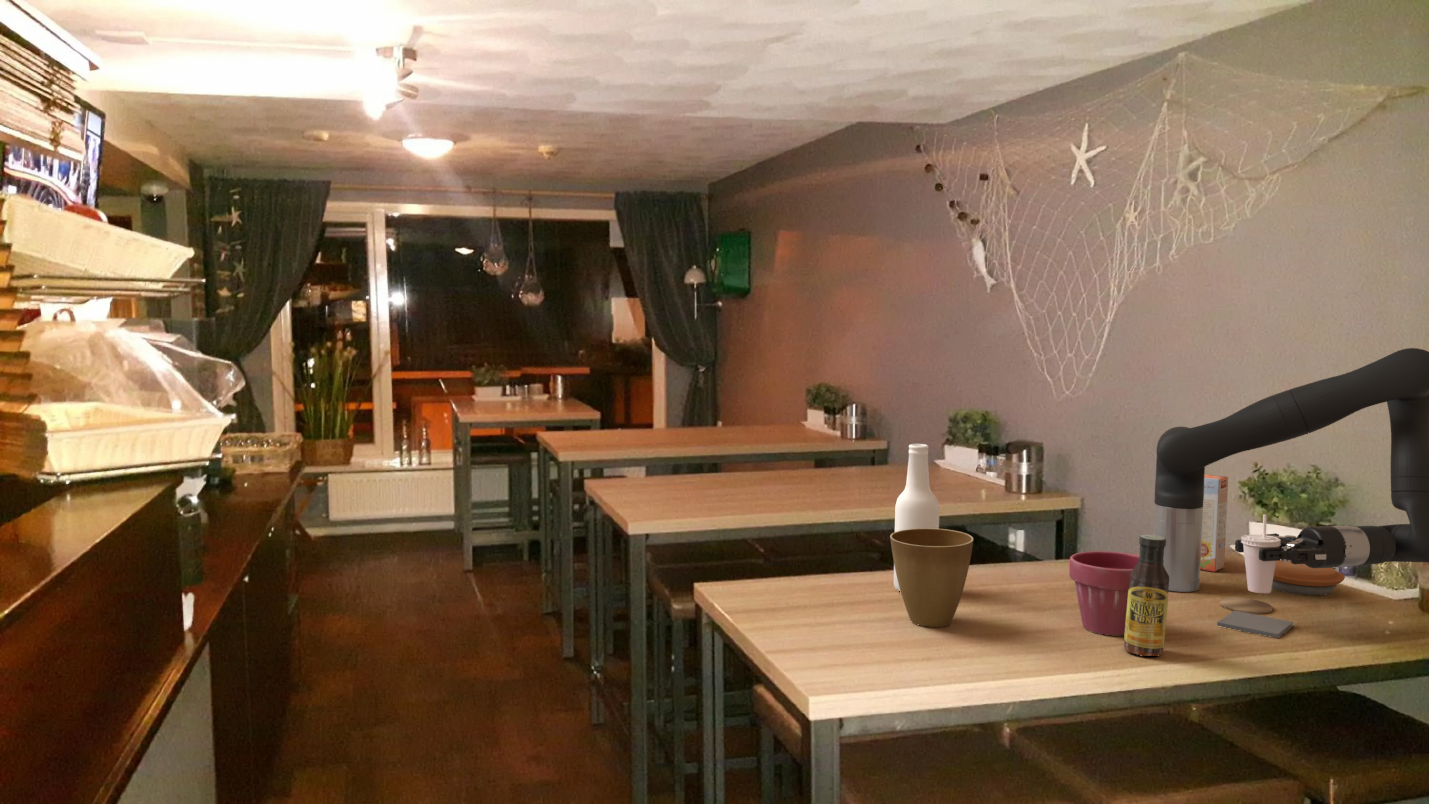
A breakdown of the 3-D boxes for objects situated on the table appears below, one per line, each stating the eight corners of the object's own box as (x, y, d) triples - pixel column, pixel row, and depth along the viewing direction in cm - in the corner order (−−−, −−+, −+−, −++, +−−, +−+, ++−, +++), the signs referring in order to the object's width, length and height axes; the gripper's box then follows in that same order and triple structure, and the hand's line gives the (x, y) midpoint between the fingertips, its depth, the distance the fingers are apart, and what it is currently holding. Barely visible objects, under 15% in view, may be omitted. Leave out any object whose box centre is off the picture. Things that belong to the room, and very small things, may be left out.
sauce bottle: (1123, 655, 170) (1128, 538, 169) (1123, 644, 176) (1128, 530, 174) (1166, 661, 168) (1171, 541, 166) (1165, 649, 174) (1170, 534, 172)
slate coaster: (1217, 626, 187) (1217, 622, 187) (1234, 614, 194) (1234, 610, 194) (1277, 638, 180) (1277, 634, 180) (1293, 625, 187) (1293, 621, 187)
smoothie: (1284, 595, 182) (1286, 518, 181) (1245, 594, 184) (1247, 517, 183) (1272, 586, 189) (1275, 511, 187) (1235, 585, 190) (1237, 510, 189)
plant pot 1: (918, 605, 199) (920, 524, 198) (986, 622, 189) (989, 536, 187) (872, 621, 189) (873, 535, 187) (941, 639, 178) (943, 549, 177)
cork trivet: (1211, 605, 200) (1211, 602, 200) (1233, 597, 205) (1233, 594, 205) (1258, 616, 193) (1258, 613, 193) (1280, 608, 198) (1280, 605, 198)
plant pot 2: (1050, 622, 189) (1052, 553, 188) (1108, 613, 194) (1111, 547, 193) (1108, 645, 176) (1111, 572, 175) (1169, 635, 181) (1172, 564, 180)
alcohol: (904, 597, 204) (907, 448, 202) (886, 585, 213) (889, 442, 210) (944, 594, 207) (948, 447, 204) (925, 583, 215) (929, 441, 212)
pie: (1240, 583, 217) (1241, 560, 217) (1293, 576, 223) (1294, 553, 222) (1306, 602, 203) (1308, 577, 202) (1361, 594, 209) (1362, 570, 208)
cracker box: (1225, 568, 229) (1229, 475, 227) (1215, 573, 225) (1219, 478, 223) (1161, 557, 239) (1165, 468, 237) (1151, 561, 235) (1155, 471, 233)
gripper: (1306, 518, 194) (1224, 521, 192) (1363, 534, 180) (1275, 538, 178) (1305, 557, 195) (1222, 561, 193) (1361, 576, 180) (1273, 581, 178)
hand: (1248, 550), depth 185 cm, fingers closed on smoothie, 6 cm apart
